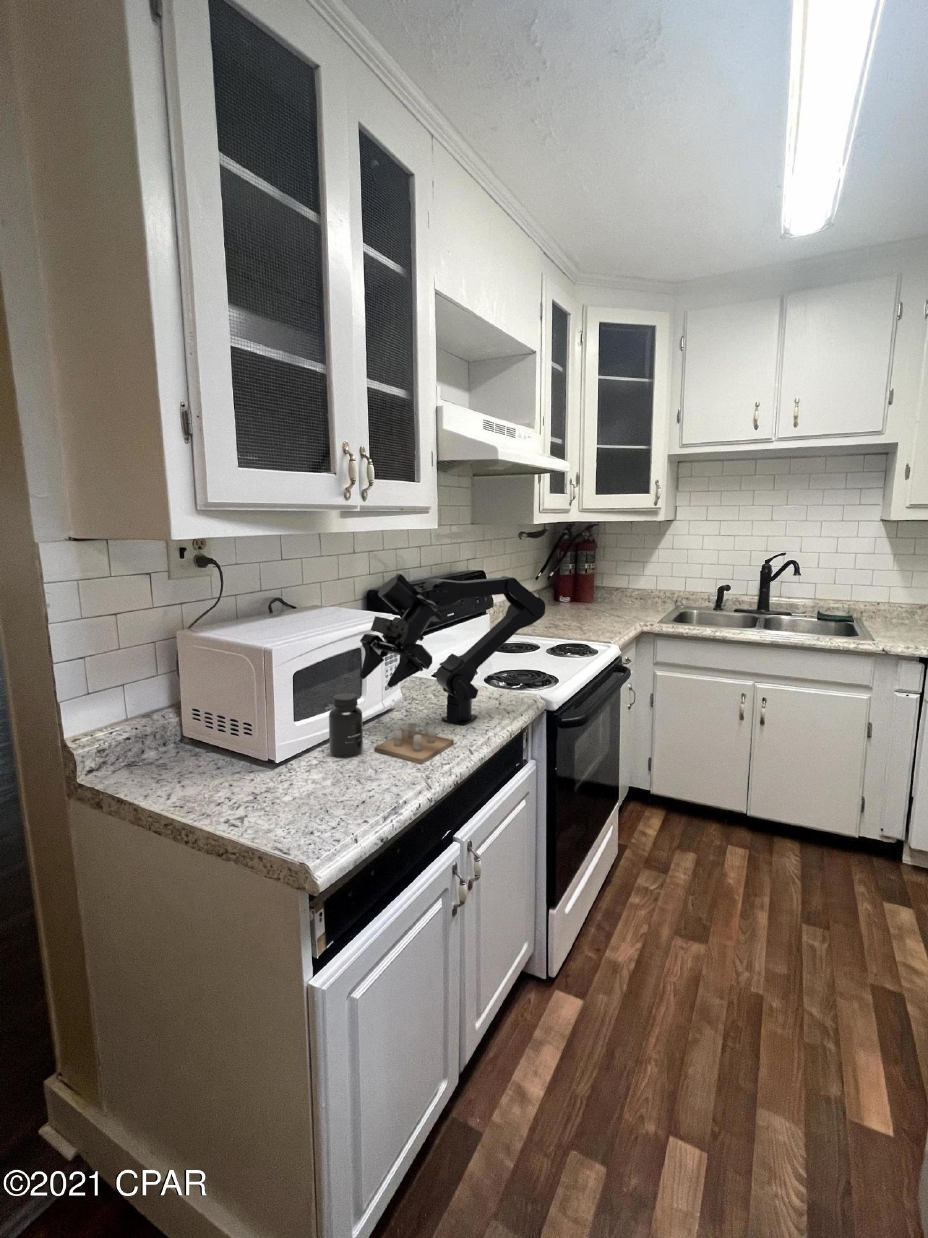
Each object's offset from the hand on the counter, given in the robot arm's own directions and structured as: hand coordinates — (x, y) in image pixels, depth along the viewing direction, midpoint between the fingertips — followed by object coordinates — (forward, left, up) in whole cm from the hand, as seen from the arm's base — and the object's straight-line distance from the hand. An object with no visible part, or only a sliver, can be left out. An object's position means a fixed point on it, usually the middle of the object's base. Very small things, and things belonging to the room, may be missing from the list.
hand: (374, 682), depth 126 cm
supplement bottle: (+8, -2, -14) cm, 16 cm away
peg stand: (-1, +9, -13) cm, 16 cm away
